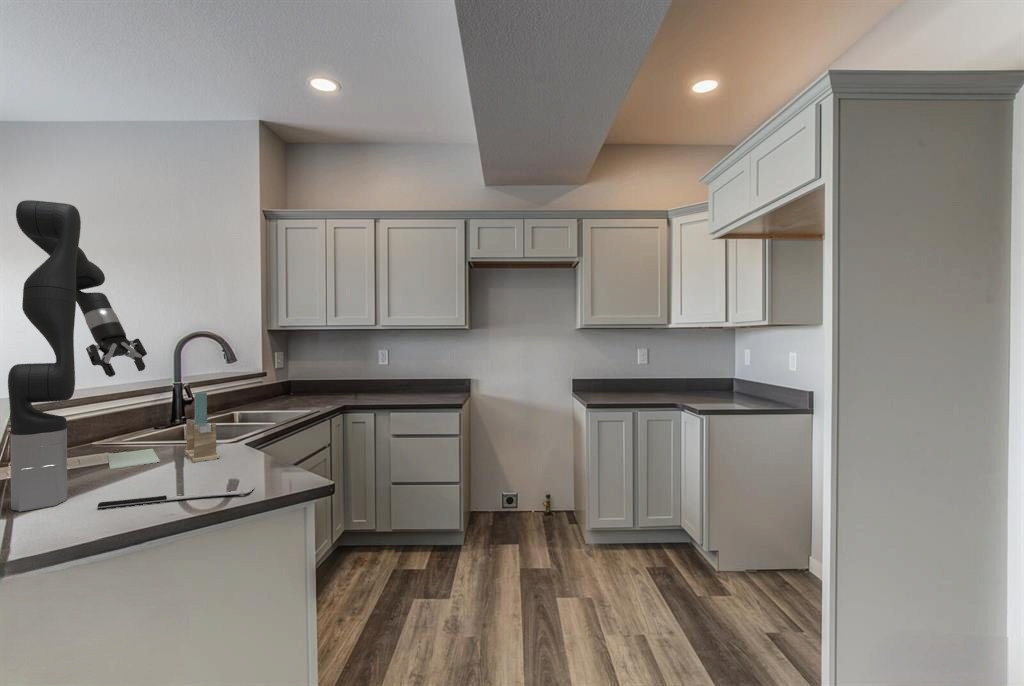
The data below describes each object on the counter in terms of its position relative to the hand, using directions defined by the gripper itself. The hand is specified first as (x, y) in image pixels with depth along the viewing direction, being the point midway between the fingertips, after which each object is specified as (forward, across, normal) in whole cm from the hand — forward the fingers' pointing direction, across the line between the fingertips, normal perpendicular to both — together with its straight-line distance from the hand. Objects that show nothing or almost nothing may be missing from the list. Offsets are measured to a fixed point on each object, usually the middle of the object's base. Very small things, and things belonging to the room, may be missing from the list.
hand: (127, 372), depth 141 cm
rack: (+33, +11, +2) cm, 34 cm away
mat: (+24, +2, +18) cm, 30 cm away
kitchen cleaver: (+42, -22, -31) cm, 57 cm away
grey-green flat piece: (+24, +12, -2) cm, 27 cm away
